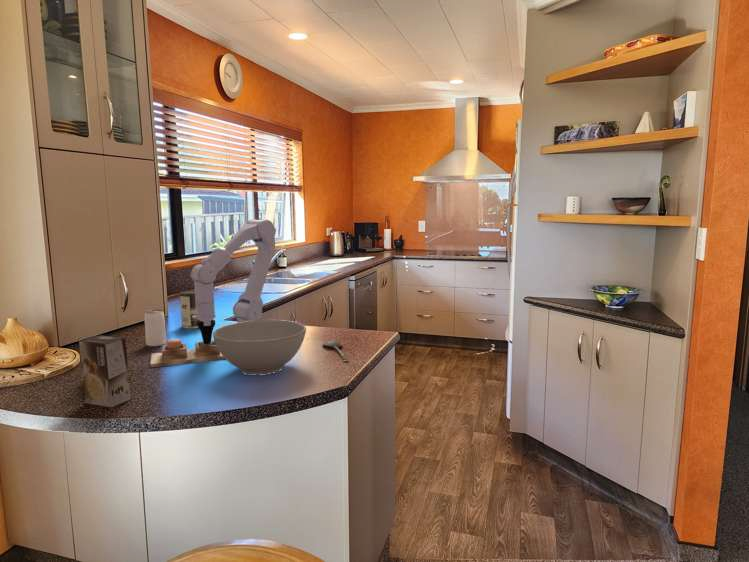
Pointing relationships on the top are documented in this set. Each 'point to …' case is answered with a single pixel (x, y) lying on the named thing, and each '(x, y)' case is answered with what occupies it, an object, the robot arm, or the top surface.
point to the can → (155, 328)
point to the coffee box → (105, 370)
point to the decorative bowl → (260, 344)
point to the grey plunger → (206, 344)
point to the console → (185, 355)
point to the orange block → (174, 344)
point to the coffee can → (188, 309)
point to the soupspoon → (335, 345)
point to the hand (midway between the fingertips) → (207, 343)
